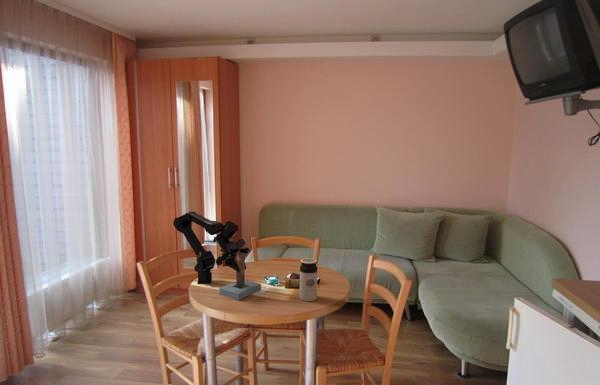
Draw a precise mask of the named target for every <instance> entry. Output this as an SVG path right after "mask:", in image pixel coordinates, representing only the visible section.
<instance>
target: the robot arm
mask: <svg viewBox="0 0 600 385" xmlns="http://www.w3.org/2000/svg"><path fill="white" fill-rule="evenodd" d="M172 223H173V227H174V228H175V230H177V231H178V232H179V233H180V234H182V235H183V236H184V238H185V240H187V242H188V244H189V245H190V247H191V249H192V251H193V252H194V254H195V255H196V259H195V260H196V264H195V265H194V266H193V267H194V268H193V269H194V271H195V272H197V284H199V285H200V284H203V285H204V284H211V282H212V281H213V272H212V270H213V269H214V268H215V264H216V266H217V267H219V266H222V265H224V266H227V267H229V268H231V269H232V270H234V271H237V272H240V269H239V267H238V266H237V264H236V253H240V252H242V253H245V257H246V256H247V255H248V254H249V253H250V252H251V249H250V248H249V246H248V247H247V246H245V245H246V241H245V240H244V239H243V238H240V239H238V240H237V241H235V242H234V241H232V240H231V239H232V238H233V237H234V236H235V235H236V233H238V231H239V226H238V224H236V223H234V222H232V221H231V220H227V221H226V222H225V224H223V222H221V221H219V220H218V221H217V220H211V219H208V218H206V217H205V216H203V215H201V214H199V213H197V212H196V211H187V212H186V213H184V214H183V215H182V214H181V215H180V216H179V217H175V218H174V220H173V222H172ZM192 223H194V224H196V225H198V226H200V227H201V228H203V229H204V231H205V232H206V233H207V234H209V235H210V236H213V240H212V243H216V242H217V244H218V246H219V248H220V250H219V251H220V252H221V254H220V255H219V256H218V257H217V258H215V255H214V254H213V252H212V251H211V250H207V249H205V248H204V246H203V244H202V242H201V241H200V240H199V238H198V237H197V235H196V233H195V232H194V230H193V228H192V226H193V224H192ZM215 235H216V236H215ZM222 252H223V254H222ZM246 269H247V265H246V263H245V271H246Z"/></svg>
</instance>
